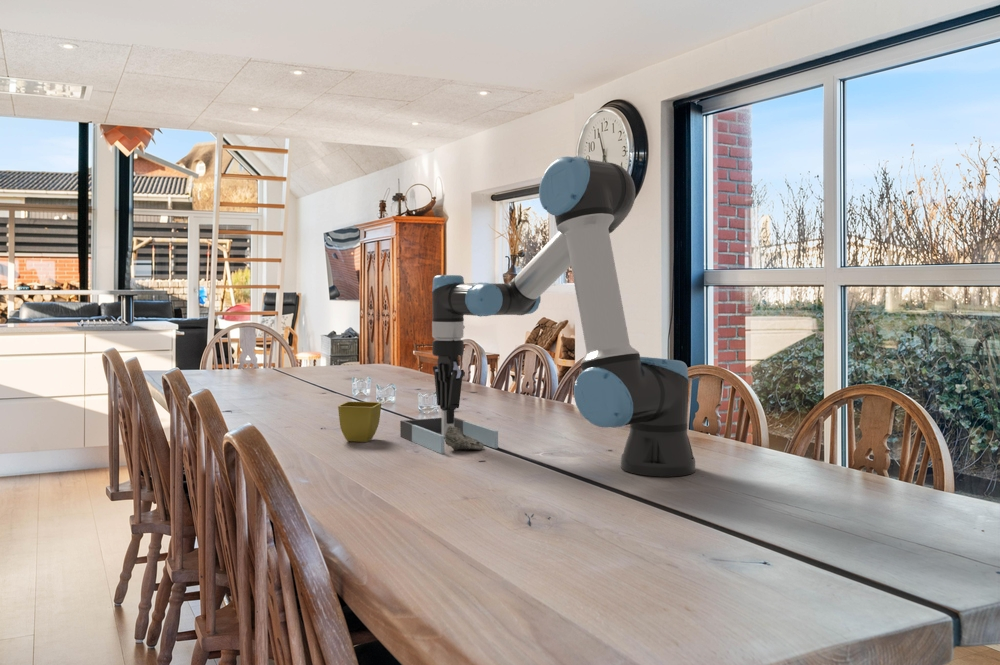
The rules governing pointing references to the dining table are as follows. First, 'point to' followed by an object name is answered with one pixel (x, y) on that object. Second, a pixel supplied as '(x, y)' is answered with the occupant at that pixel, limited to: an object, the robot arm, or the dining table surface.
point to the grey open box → (426, 426)
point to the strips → (469, 429)
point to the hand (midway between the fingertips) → (447, 436)
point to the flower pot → (359, 420)
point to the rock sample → (461, 440)
